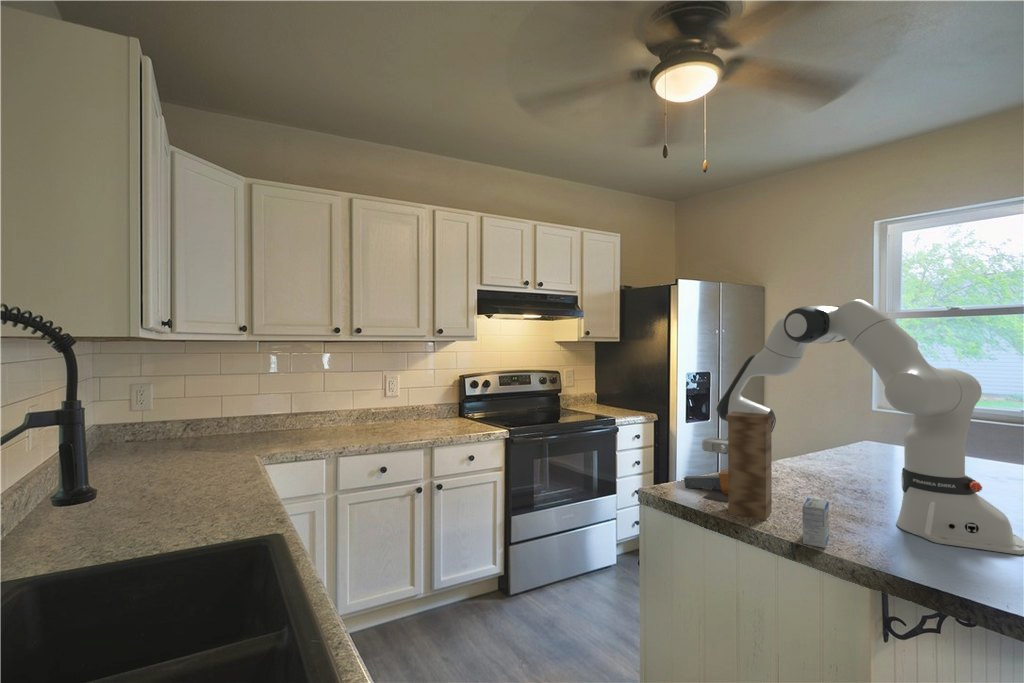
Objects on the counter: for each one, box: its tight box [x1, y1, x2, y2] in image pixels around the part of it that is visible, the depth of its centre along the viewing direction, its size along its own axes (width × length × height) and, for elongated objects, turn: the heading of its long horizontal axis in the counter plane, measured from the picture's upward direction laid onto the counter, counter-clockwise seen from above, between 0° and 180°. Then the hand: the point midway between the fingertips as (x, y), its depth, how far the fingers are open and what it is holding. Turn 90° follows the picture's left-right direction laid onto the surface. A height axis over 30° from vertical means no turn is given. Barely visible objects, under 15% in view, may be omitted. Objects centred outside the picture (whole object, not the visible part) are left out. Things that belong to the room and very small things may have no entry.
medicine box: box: [801, 497, 830, 549], centre depth 111 cm, size 8×4×9 cm, turn 143°
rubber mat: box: [703, 488, 728, 503], centre depth 146 cm, size 9×16×1 cm, turn 143°
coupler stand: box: [725, 412, 774, 521], centre depth 130 cm, size 10×9×26 cm
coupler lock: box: [683, 469, 728, 494], centre depth 149 cm, size 6×17×5 cm
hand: (730, 452), depth 151 cm, fingers open, 2 cm apart
